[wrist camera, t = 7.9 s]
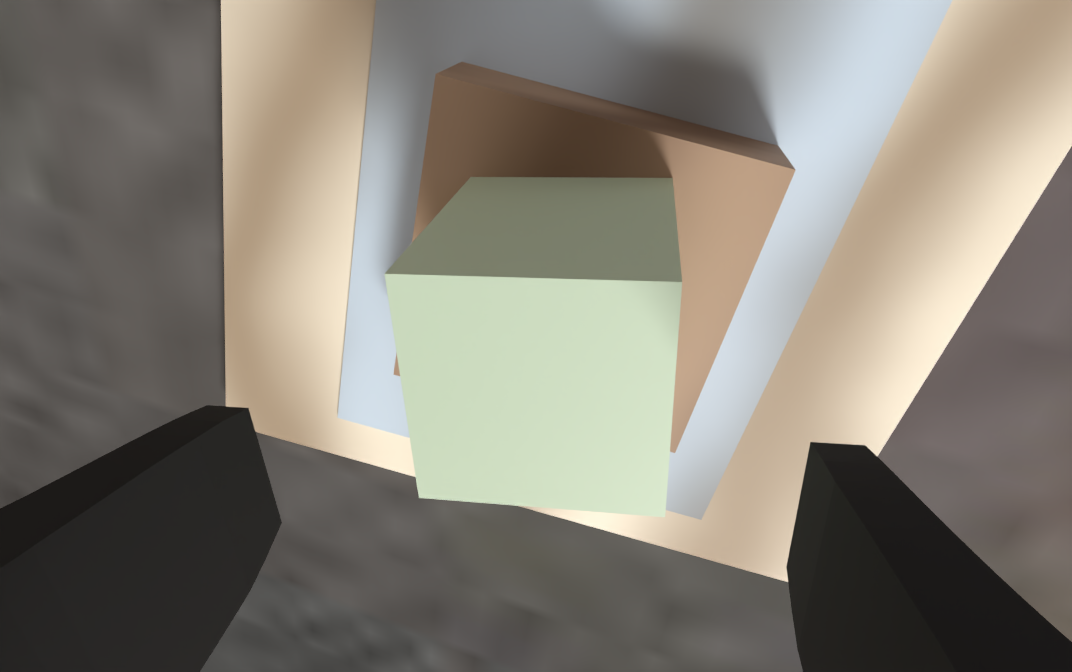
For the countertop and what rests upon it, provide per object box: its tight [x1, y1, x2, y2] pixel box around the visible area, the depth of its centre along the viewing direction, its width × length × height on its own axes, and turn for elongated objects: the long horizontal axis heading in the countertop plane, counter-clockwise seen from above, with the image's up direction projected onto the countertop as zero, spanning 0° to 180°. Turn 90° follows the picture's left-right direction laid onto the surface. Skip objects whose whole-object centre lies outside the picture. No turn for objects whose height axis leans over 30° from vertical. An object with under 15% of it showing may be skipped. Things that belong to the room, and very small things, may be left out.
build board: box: [221, 0, 1072, 582], centre depth 16 cm, size 18×17×3 cm
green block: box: [384, 177, 682, 517], centre depth 12 cm, size 4×4×5 cm
